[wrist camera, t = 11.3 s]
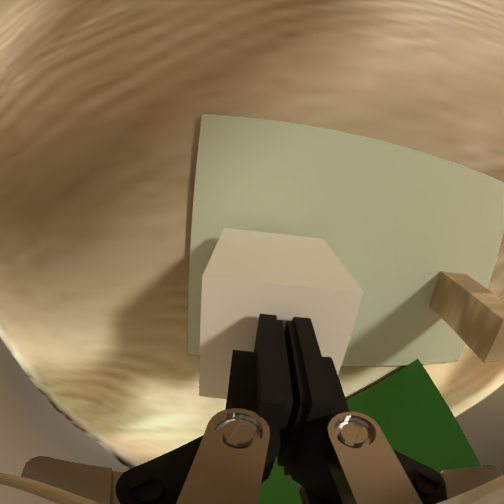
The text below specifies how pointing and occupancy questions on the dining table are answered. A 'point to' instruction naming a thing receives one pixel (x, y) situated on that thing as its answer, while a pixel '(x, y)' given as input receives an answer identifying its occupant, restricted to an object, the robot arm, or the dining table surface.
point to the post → (471, 313)
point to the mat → (351, 223)
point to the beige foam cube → (271, 298)
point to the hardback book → (397, 428)
